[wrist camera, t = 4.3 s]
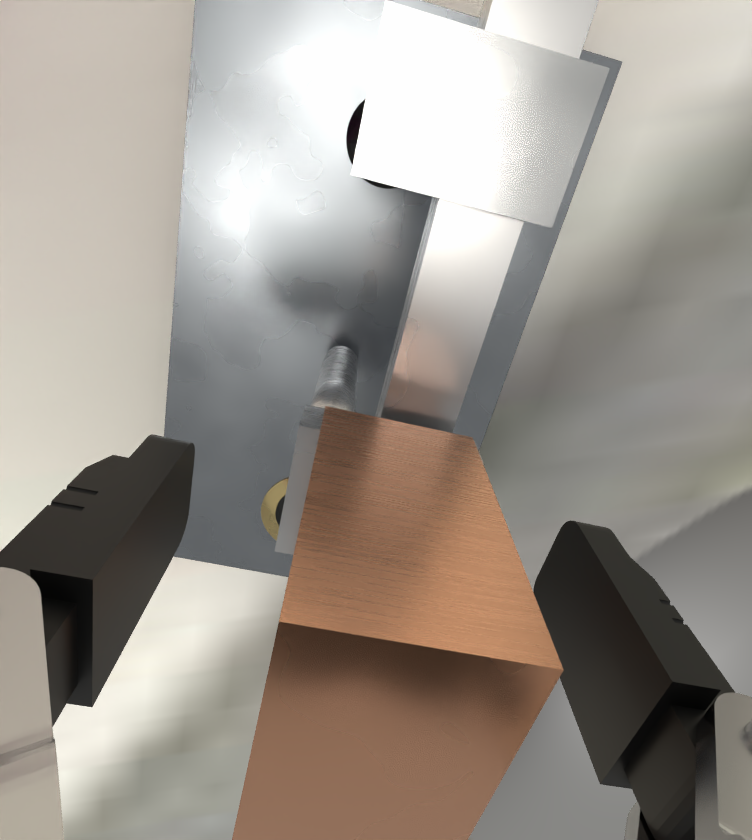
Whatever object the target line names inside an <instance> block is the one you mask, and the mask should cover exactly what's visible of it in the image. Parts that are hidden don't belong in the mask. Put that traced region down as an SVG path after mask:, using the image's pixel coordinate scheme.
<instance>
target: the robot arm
mask: <svg viewBox="0 0 752 840" xmlns="http://www.w3.org/2000/svg"><path fill="white" fill-rule="evenodd" d="M194 458H195V446H194V444H193V443H191V442H186V441H181V440H177V439H172V438H167V437H162V436H157V435H150V436H148V437H147V438H146V439H145V441H144V442H143V443H142V444H141V445H140V446H139V447H138V448H137V449H136V451H135V452H134V453H133V454H132V455H131V456H130V457H129V458H126V457H121V456H116V455H112V456H110V457H108V458H106V459H103V460H101V461H99V462H97V463H95V464H93V465H90V466H88V467H86V468H85V469H84V470H83V471H82V472H81V473H80V474H79V475H78V476H77V477H76V478H75V479H74V480H73V481H72V482H71V483H70V484H69V485H68V486H67V489H66V490H64V489H63V490H62V491H61V492H60V493H59V494H58V495H57V496H56V497H55V498H54V499H53V500H52V503H51V505H50V506H49V505H47V506H46V507H45V508H44V509H43V510H42V511H41V512H40V513H39V514H38V515H37V516H36V517H35V518H34V519H33V520H32V521H31V522H30V523H29V524H28V525H27V526H26V527H25V528H24V529H23V530H22V531H21V532H20V533H19V534H18V535H17V536H16V537H15V538H14V539H13V540H12V541H11V542H10V543H9V544H8V545H7V546H6V547H5V548H4V549H3V550H2V551H1V552H0V840H64V833H63V821H62V810H61V799H60V788H59V777H58V766H57V755H56V746H55V739H53V729H52V727H53V725H54V724H55V722H56V720H57V719H58V717H59V715H60V714H61V712H62V710H63V708H64V707H65V705H66V703H67V704H74V705H81V706H88V707H93V705H94V703H95V701H96V699H97V697H98V695H99V694H100V692H101V690H102V688H103V686H104V684H105V682H106V681H107V679H108V677H109V675H110V673H111V671H112V669H113V668H114V666H115V664H116V662H117V660H118V658H119V656H120V655H121V653H122V651H123V649H124V647H125V645H126V643H127V642H128V640H129V638H130V636H131V634H132V632H133V630H134V629H135V627H136V625H137V623H138V621H139V619H140V617H141V616H142V614H143V612H144V610H145V608H146V606H147V604H148V603H149V601H150V599H151V597H152V595H153V593H154V591H155V589H156V588H157V586H158V584H159V582H160V580H161V578H162V576H163V575H164V573H165V571H166V569H167V567H168V565H169V563H170V562H171V560H172V558H173V556H174V554H175V552H176V550H177V549H178V547H179V545H180V542H181V540H182V537H183V535H184V532H185V528H186V525H187V520H188V515H189V507H190V498H191V488H192V478H193V468H194ZM533 593H534V596H535V598H536V601H537V603H538V606H539V608H540V611H541V613H542V616H543V619H544V621H545V624H546V626H547V629H548V631H549V634H550V636H551V639H552V642H553V644H554V647H555V649H556V652H557V654H558V657H559V659H560V662H561V665H562V667H563V672H562V674H561V676H560V679H561V682H562V685H563V687H564V689H565V692H566V695H567V698H568V700H569V703H570V706H571V708H572V711H573V714H574V716H575V719H576V722H577V724H578V727H579V730H580V732H581V735H582V737H583V740H584V743H585V745H586V748H587V751H588V753H589V756H590V759H591V761H592V764H593V767H594V769H595V772H596V774H597V777H598V780H599V782H600V784H603V785H609V786H616V787H623V788H631V789H633V792H634V794H635V797H636V799H637V802H636V803H635V805H634V806H633V807H632V808H631V810H630V812H629V814H628V817H627V822H626V828H625V829H626V830H625V836H624V840H752V697H749V696H747V695H742V694H739V693H735V692H734V690H733V689H732V687H731V686H730V685H729V683H728V682H727V680H726V679H725V678H724V676H723V675H722V673H721V672H720V670H719V669H718V668H717V666H716V665H715V663H714V662H713V661H712V659H711V658H710V656H709V655H708V654H707V652H706V651H705V649H704V648H703V647H702V646H701V644H700V642H699V641H698V640H697V638H696V637H695V635H694V634H693V633H692V631H691V630H690V628H689V627H688V626H687V625H684V624H683V618H682V617H681V616H680V614H679V613H678V612H677V610H676V609H675V607H674V606H671V605H670V600H669V599H668V597H667V596H666V595H665V594H664V592H663V590H662V589H661V588H660V586H659V585H658V583H657V582H656V581H655V579H654V578H653V577H652V576H650V575H649V574H648V573H647V572H646V571H645V570H644V569H643V568H641V567H640V566H639V565H638V564H637V563H636V562H635V561H634V560H633V559H631V558H630V557H629V555H628V554H627V552H626V551H625V549H624V548H623V546H622V545H621V544H620V542H619V541H618V539H617V538H616V536H615V535H614V533H613V532H612V531H611V530H610V529H608V528H605V527H600V526H595V525H591V524H586V523H581V522H576V521H568V522H566V523H565V524H564V525H563V526H562V527H561V529H560V531H559V533H558V535H557V537H556V539H555V541H554V543H553V546H552V548H551V550H550V552H549V554H548V556H547V558H546V560H545V562H544V564H543V566H542V568H541V570H540V572H539V575H538V577H537V579H536V582H535V585H534V591H533Z"/></svg>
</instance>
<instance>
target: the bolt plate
mask: <svg viewBox="0 0 752 840" xmlns="http://www.w3.org/2000/svg"><path fill="white" fill-rule="evenodd" d="M598 1H599V0H484V2H483V6H482V10H481V14H480V18H477V17H474V16H471V15H467V14H464V13H461V12H458V11H454V10H451V9H448V8H445V7H441V6H438V5H435V4H432V3H428V2H425V1H422V0H195V9H194V23H193V37H192V52H191V66H190V80H189V94H188V108H187V122H186V136H185V150H184V164H183V178H182V192H181V206H180V220H179V234H178V248H177V262H176V276H175V290H174V304H173V318H172V332H171V346H170V360H169V374H168V388H167V402H166V416H165V430H164V437H167V438H172V439H177V440H181V441H186V442H191V443H193V444H194V446H195V458H194V468H193V478H192V488H191V498H190V507H189V515H188V520H187V525H186V528H185V532H184V535H183V537H182V540H181V542H180V545H179V547H178V549H177V550H176V552H175V554H174V557H180V558H185V559H191V560H196V561H202V562H208V563H213V564H219V565H224V566H230V567H235V568H241V569H247V570H252V571H258V572H263V573H269V574H274V575H280V576H286V577H289V573H290V569H291V564H292V559H293V555H291V554H286V553H280V552H275V546H276V541H277V536H278V531H279V526H280V521H281V516H282V511H283V505H284V500H285V495H286V490H287V485H288V480H289V475H290V469H291V464H292V459H293V454H294V449H295V444H296V439H297V434H298V428H299V424H300V421H301V418H302V414H303V411H304V408H305V405H306V404H308V405H311V402H312V399H313V395H314V392H315V388H316V385H317V381H318V378H319V374H320V371H321V367H322V364H323V360H324V357H325V354H326V353H327V352H328V351H329V350H330V349H331V348H333V347H336V346H345V347H348V348H350V349H351V350H352V351H353V352H354V353H355V354H356V356H357V359H358V370H357V382H356V393H355V405H354V412H357V413H361V414H366V415H370V416H375V417H380V418H384V419H389V420H394V421H398V422H403V423H407V424H412V425H417V426H421V427H426V428H431V429H435V430H440V431H444V432H449V433H454V434H458V435H463V436H468V437H472V438H473V440H475V442H476V445H477V447H478V450H479V449H480V446H481V444H482V441H483V438H484V435H485V433H486V430H487V427H488V425H489V422H490V419H491V416H492V414H493V411H494V408H495V406H496V403H497V400H498V397H499V395H500V392H501V389H502V387H503V384H504V381H505V379H506V376H507V373H508V370H509V368H510V365H511V362H512V360H513V357H514V354H515V351H516V349H517V346H518V343H519V341H520V338H521V335H522V332H523V330H524V327H525V324H526V322H527V319H528V316H529V314H530V311H531V308H532V305H533V303H534V300H535V297H536V295H537V292H538V289H539V286H540V284H541V281H542V278H543V276H544V273H545V270H546V268H547V265H548V262H549V259H550V257H551V254H552V251H553V249H554V246H555V243H556V240H557V238H558V235H559V232H560V230H561V227H562V224H563V221H564V219H565V216H566V213H567V211H568V208H569V205H570V203H571V200H572V197H573V194H574V192H575V189H576V186H577V184H578V181H579V178H580V175H581V173H582V170H583V167H584V165H585V162H586V159H587V156H588V154H589V151H590V148H591V146H592V143H593V140H594V138H595V135H596V132H597V129H598V127H599V124H600V121H601V119H602V116H603V113H604V110H605V108H606V105H607V102H608V100H609V97H610V94H611V91H612V89H613V86H614V83H615V81H616V78H617V75H618V73H619V70H620V67H621V64H622V62H621V61H618V60H615V59H611V58H608V57H605V56H602V55H598V54H595V53H592V52H588V51H585V50H582V49H583V46H584V43H585V40H586V37H587V34H588V31H589V28H590V25H591V22H592V19H593V16H594V13H595V10H596V7H597V4H598Z"/></svg>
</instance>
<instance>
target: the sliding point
mask: <svg viewBox="0 0 752 840" xmlns="http://www.w3.org/2000/svg"><path fill="white" fill-rule="evenodd" d="M357 370H358V359H357V356H356V354H355V353H354V352H353V351H352V350H351V349H350V348H348V347H345V346H336V347H333V348H331V349H330V350H329V351H328V352H327V353H326V354H325V357H324V360H323V364H322V367H321V371H320V374H319V378H318V381H317V385H316V388H315V392H314V395H313V399H312V402H311V405H308V404H306V405H305V408H304V411H303V414H302V418H301V421H300V424H299V428H298V434H297V439H296V444H295V449H294V454H293V459H292V464H291V469H290V475H289V480H288V485H287V490H286V495H285V500H284V505H283V511H282V516H281V521H280V526H279V531H278V536H277V541H276V546H275V552H280V553H286V554H291V555H293V559H292V564H291V569H290V573H289V578H288V582H287V587H286V592H285V596H284V601H283V606H282V610H281V615H280V620H279V624H278V629H277V633H276V638H275V643H274V647H273V652H272V657H271V661H270V666H269V671H268V675H267V680H266V684H265V689H264V694H263V698H262V703H261V708H260V712H259V717H258V722H257V726H256V731H255V736H254V740H253V745H252V749H251V754H250V759H249V763H248V768H247V773H246V777H245V782H244V787H243V791H242V796H241V800H240V805H239V810H238V814H237V819H236V824H235V828H234V833H233V838H232V840H468V838H469V836H470V834H471V833H472V831H473V829H474V827H475V826H476V824H477V822H478V820H479V818H480V817H481V815H482V813H483V811H484V810H485V808H486V806H487V804H488V803H489V801H490V799H491V797H492V796H493V794H494V792H495V790H496V788H497V787H498V785H499V783H500V781H501V780H502V778H503V776H504V774H505V772H506V771H507V769H508V767H509V766H510V764H511V762H512V760H513V758H514V757H515V755H516V753H517V751H518V750H519V748H520V746H521V744H522V743H523V741H524V739H525V737H526V736H527V734H528V732H529V730H530V728H531V727H532V725H533V723H534V721H535V720H536V718H537V716H538V714H539V713H540V711H541V709H542V707H543V705H544V704H545V702H546V700H547V698H548V697H549V695H550V693H551V691H552V690H553V688H554V686H555V684H556V683H557V681H558V679H559V677H560V676H561V674H562V672H563V667H562V665H561V662H560V659H559V657H558V654H557V652H556V649H555V647H554V644H553V642H552V639H551V636H550V634H549V631H548V629H547V626H546V624H545V621H544V619H543V616H542V613H541V611H540V608H539V606H538V603H537V601H536V598H535V596H534V593H533V590H532V588H531V585H530V583H529V580H528V578H527V575H526V573H525V570H524V567H523V565H522V562H521V560H520V557H519V555H518V552H517V550H516V547H515V544H514V542H513V539H512V537H511V534H510V532H509V529H508V527H507V524H506V521H505V519H504V516H503V514H502V511H501V509H500V506H499V504H498V501H497V498H496V496H495V493H494V491H493V488H492V486H491V483H490V481H489V478H488V476H487V473H486V470H485V468H484V462H483V460H482V457H481V455H480V452H479V450H478V447H477V445H476V442H475V440H473V438H472V437H468V436H463V435H458V434H454V433H449V432H444V431H440V430H435V429H431V428H426V427H421V426H417V425H412V424H407V423H403V422H398V421H394V420H389V419H384V418H380V417H375V416H370V415H366V414H361V413H357V412H354V405H355V393H356V382H357Z"/></svg>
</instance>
